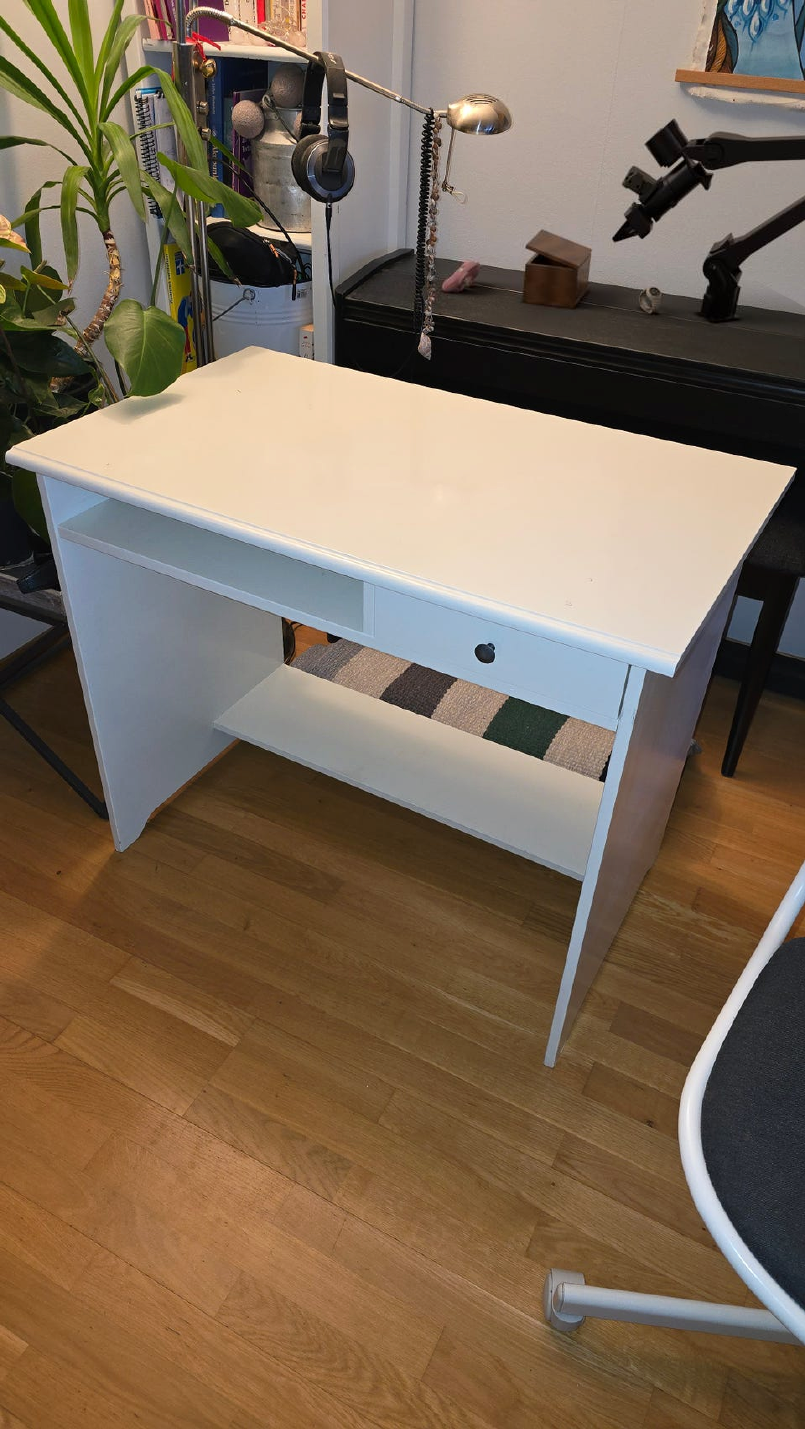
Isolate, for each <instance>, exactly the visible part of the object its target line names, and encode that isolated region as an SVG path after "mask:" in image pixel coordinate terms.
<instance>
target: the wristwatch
mask: <svg viewBox="0 0 805 1429" xmlns="http://www.w3.org/2000/svg"><path fill="white" fill-rule="evenodd" d="M646 298H648V299H649V300H650V302H651V305H652V307H651V306H650V305H649V304H648V303H647V299H646ZM661 299H662V291H661V290H660V288H658V287H656V286H651V285H650V286H647V287H645V288H644V290H643V291H641V292H640V294H639V298H638V300H639V304H640V305H639V306H640V308H641V309H642V310H643V311H644V312H646V313H647V314H656V313H657V312H658V311H659V310H660V306H661Z"/></svg>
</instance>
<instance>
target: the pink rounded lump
mask: <svg viewBox="0 0 805 1429" xmlns="http://www.w3.org/2000/svg"><path fill="white" fill-rule="evenodd" d="M482 270H483V265H482V264H480V263H479V262H478V261H475V260H474V259H473V260H470V261H469V260H468V261H465V262H463V263H462V264H461V266H460V267H459V268H458V269H457V270H456V271H455V272H454V273H453V274H452V275H451V276H450V277H449V278H447V279H446V280H444V282H443V283H442V287H441V288H442V291H444V292H446V293H449V292H453V291H455V290H456V289H458V290H459V291H463V290H464V289H465V288H466V287H467V288H468V287H470V286H471V285H473V282H474V280H476V278H478V276H480V274H481V271H482Z"/></svg>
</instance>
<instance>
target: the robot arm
mask: <svg viewBox="0 0 805 1429" xmlns="http://www.w3.org/2000/svg"><path fill="white" fill-rule="evenodd" d="M644 146H645V147H646V149H647V150H648V152H649V153H650V155H651V156H652V157H653V159H654V160H655V162H656V163H657V165H658V166H659V167H660V168H663V167H664V168H666V167H667V169H670V168H671V167H672V166H673V165H675V164H676V163H677V162H678V161H679V160H680V159H682V160H681V161H680V162H679V163H678V164H677V165H675V166H674V167H673V168H672V169H671V170H670V171H669V172H668V173H667V174H666V175H664V176H660V177H659V178H658V179H656V178H654V177H653V176H652V175H650V173H648V172H646V171H644V170H643V169H641V168H639V167H638V166H636V165H632V166H631V167H630V168H629V169H628V172H627V173H626V174H625V175H626V176H625V177H624V179H623V180H622V182H621V186H622V187H623V188H624V189H627V190H630V191H631V192H633V193H634V194H636V195H637V196H638V198H637V200H638V201H639V202H638V203H637V202H636V201H633V202H632V203H631V206H629V207H628V208H627V209H626V210H625V212H624V213H623V216H624V219H625V221H624V222H623V223H622V225H621V226H620V228H618V230H616V232H615V234H614V235H613V236H612V237H611V239H612V241H613V243H618V242H621V241H624V240H627V239H631V238H634V237H636V236H638V238H640V240H643V239H645V238H646V237H647V236H648V235H650V233H651V232H652V230H653V229H654V224H655V223H658V222H659V221H660V220H661V219H662V217H664V216H665V215H666V214H667V213H668V212H670V210H672V209H674V208H675V207H677V205H678V204H679V203H680V202H681V201H682V200H683V199H684V198H685V197H687V196H688V195H690V193H691V192H693V191H694V190H695V189H696V188H697V187H699V185H701V186H702V188H703V189H704V190H705V191H709V190H710V188H711V186H712V181H713V177H714V172H707V171H718V170H723V169H727V168H731V167H735V166H737V165H740V164H745V163H750V162H751V163H752V162H754V163H755V162H780V161H781V162H782V161H805V135H781V136H780V135H779V136H778V135H777V136H760V137H759V136H758V137H757V136H756V137H754V136H753V137H752V136H746V135H743V134H738V133H735V132H728V131H722V130H720V131H714V132H712V133H711V134H710V135H708V137H703V138H692V139H691V138H690V139H689V140H688V138H687V136H686V135H685V133H684V132H683V131H682V130H681V127H680V125H679V123H678V122H677V120H676V118H672V119H671V120H670V121H669V122H668V123H666V125H664V126H663V127H661V128H660V129H658V130H657V131H656V132H655V133H654V134H653V135H652V136H651V137H650V138H649V139H648V140H647V141H646V142H645V143H644ZM803 222H805V195H803V196H801V197H800V198H799V199H797V200H795V201H794V202H793V203H791V204H789V205H788V206H786V207H784V208H783V209H782V210H780V211H778V212H777V213H776V214H773V216H771V217H770V218H768V219H767V220H765V221H764V222H762V223H760V224H759V225H757V226H756V227H754V228H752V229H751V230H750V231H748V232H746V233H745V234H743V235H741V236H737V237H734V235H733V233H732V232H730V233H728V234H727V235H726V236H725V237H724V238H722V240H720V241H715V242H714V243H713V244H712V246H711V248H710V250H709V251H708V253H707V256H706V257H705V259H704V261H703V264H702V274H703V276H704V277H705V279H706V280H708V284H707V285H706V291H705V293H704V294H703V296H702V297H703V298H702V303H701V308H700V309H698V310H697V314H698V315H700V316H702V317H703V318H705V319H707V320H709V321H710V322H712V323H719V322H727V321H734V320H739V319H740V316H739V315H738V314H736V311H737V307H738V303H739V298H740V293H741V290H742V286H740V285H739V283H740V280H741V278H742V275H743V273H744V272H743V270H742V269H741V267H740V266H741V265H742V264H743V263H744V262H745V261H746V260H747V259H748V258H749V257H751V255H753V254H754V253H756V252H758V251H759V250H761V249H762V248H764V247H766V246H767V245H769V244H770V243H772V242H773V241H775V240H777V239H778V238H780V237H781V236H783V235H784V234H786V233H787V232H789V231H791V230H792V229H793V228H795V227H797V226H798V225H800V224H802V223H803Z"/></svg>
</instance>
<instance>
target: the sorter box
mask: <svg viewBox="0 0 805 1429" xmlns="http://www.w3.org/2000/svg"><path fill="white" fill-rule="evenodd" d="M591 260H592V253H591V254H590V255H589V256H588V257H587V258H586V260H585V261H584V262H583V263H582V265H581V266H580V267H579V268H578V269H575V268H572V267H570V266H568V265H565V264H563V263H560V262H558V261H555V260H553V259H550V258H548V257H545V256H543V255H540V254H538V253H535V252H534V254H533V255H532V256H531V257H530V259H529V260H528V261H527V262H526V263H525V264H524V275H523V276H524V277H523V288H522V290H523V291H522V303H526V304H527V303H528V304H535V305H543V306H544V305H545V306H552V307H560V308H567V309H575V307H576V306H577V305H578V303H579V302H580V301H581V299H582V298H583V297H584V296H585V294H586V293H587V292H588V287H589V277H590V268H591Z"/></svg>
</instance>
